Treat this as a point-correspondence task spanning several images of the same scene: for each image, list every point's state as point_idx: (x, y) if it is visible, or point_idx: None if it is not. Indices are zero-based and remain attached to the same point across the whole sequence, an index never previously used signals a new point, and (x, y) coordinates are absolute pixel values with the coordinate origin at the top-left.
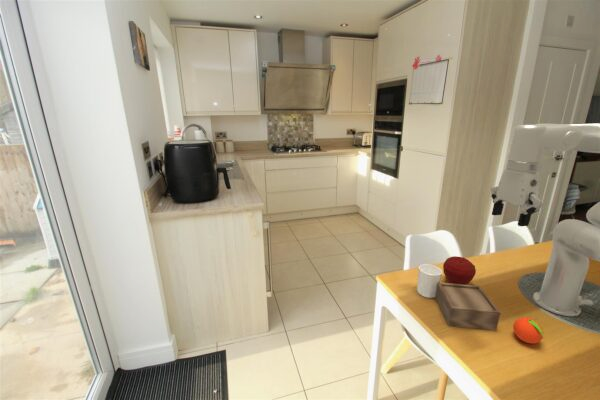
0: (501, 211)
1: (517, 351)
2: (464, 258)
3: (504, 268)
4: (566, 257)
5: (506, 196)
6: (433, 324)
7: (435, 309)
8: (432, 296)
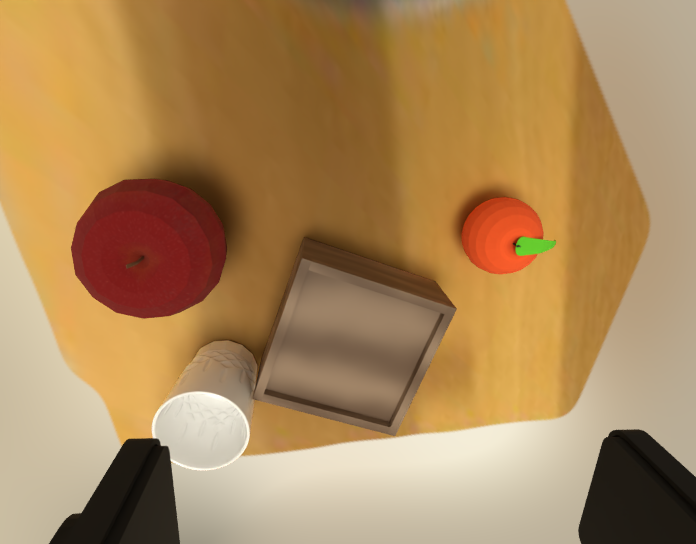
0: (148, 504)
1: (509, 286)
2: (109, 223)
3: None
4: None
5: None
6: None
7: None
8: (256, 370)
